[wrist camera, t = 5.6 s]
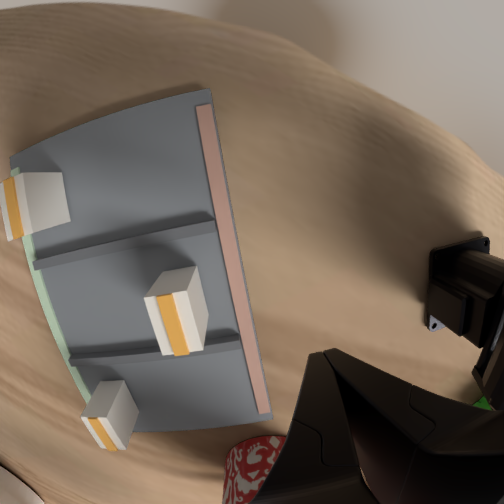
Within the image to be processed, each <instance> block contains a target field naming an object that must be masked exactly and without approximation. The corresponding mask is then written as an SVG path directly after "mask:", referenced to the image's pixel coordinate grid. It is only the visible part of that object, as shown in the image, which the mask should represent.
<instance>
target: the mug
mask: <svg viewBox="0 0 504 504" xmlns="http://www.w3.org/2000/svg"><path fill="white" fill-rule="evenodd" d="M285 439H286V437H282V436H261V437H256V438H252V439H249V440H246V441H243V442H241V443H239V444H238V445H236V446H235V447H233V448H232V449H231V450H230V451H229V453H228V455H227V457H226V461H225V474H224V488H223V500H222V504H248V503H249V502H250V501H251V500H252V499H253V498H254V496H255V495H256V493H257V492H258V490H259V489H260V487H261V485H262V484H263V482H264V480H265V479H266V477H267V475H268V473H269V471H270V470H271V468H272V466H273V464H274V462H275V461H276V459H277V457H278V455H279V453H280V451H281V449H282V446H283V444H284V442H285Z"/></svg>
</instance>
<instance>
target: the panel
mask: <svg viewBox="0 0 504 504" xmlns="http://www.w3.org/2000/svg"><path fill="white" fill-rule="evenodd" d="M10 166H11V171H10V172H11V177H14V176H16V175H18V174H21V173H26V172H62V176H63V183H64V189H65V194H66V200H67V205H68V210H69V215H70V220H71V221H70V222H67V223H64V224H60V225H57V226H54V227H51V228H47V229H44V230H41V231H38V232H35V233H32V234H29V235H26V236H23V237H22V240H23V244H24V249H25V252H26V256H27V260H28V264H29V267H30V271H31V274H32V277H33V281H34V284H35V287H36V290H37V293H38V296H39V299H40V302H41V305H42V307H43V310H44V313H45V316H46V318H47V321H48V323H49V326H50V328H51V331H52V333H53V336H54V338H55V341H56V343H57V345H58V348H59V350H60V352H61V354H62V356H63V359H64V361H65V363H66V365H67V367H68V369H69V371H70V373H71V375H72V377H73V379H74V381H75V383H76V385H77V387H78V389H79V391H80V393H81V394H82V396H83V398H84V400H85V402H86V403H87V404H88V402H89V400H90V398H91V396H92V395H93V393H94V391H95V389H96V388H97V386H98V384H99V383H100V381H117V380H124V381H125V383H126V385H127V388H128V390H129V392H130V394H131V396H132V398H133V400H134V402H135V404H136V406H137V408H138V410H139V414H138V417H137V420H136V423H135V425H134V428H133V431H132V432H165V431H184V430H197V429H208V428H218V427H226V426H234V425H241V424H248V423H254V422H260V421H266V420H272V419H273V414H272V409H271V404H270V399H269V395H268V390H267V385H266V380H265V375H264V370H263V365H262V360H261V355H260V350H259V345H258V340H257V335H256V330H255V325H254V320H253V315H252V310H251V305H250V300H249V295H248V290H247V284H246V279H245V274H244V269H243V264H242V259H241V253H240V248H239V243H238V238H237V232H236V227H235V222H234V216H233V211H232V206H231V200H230V195H229V190H228V184H227V179H226V173H225V168H224V162H223V157H222V151H221V146H220V140H219V135H218V129H217V123H216V118H215V112H214V106H213V101H212V95H211V90H210V88H208V89H203V90H198V91H193V92H188V93H184V94H180V95H175V96H171V97H167V98H163V99H159V100H156V101H152V102H148V103H145V104H141V105H138V106H134V107H131V108H128V109H125V110H121V111H118V112H115V113H112V114H109V115H106V116H103V117H101V118H98V119H95V120H92V121H89V122H87V123H84V124H82V125H79V126H76V127H74V128H71V129H69V130H66V131H64V132H62V133H59V134H57V135H55V136H52V137H50V138H48V139H46V140H43V141H41V142H39V143H37V144H35V145H33V146H31V147H29V148H27V149H24V150H22V151H20V152H19V153H17V154H15V155H13V156H11V157H10ZM196 265H197V268H198V272H199V277H200V281H201V285H202V289H203V293H204V297H205V302H206V306H207V310H208V314H209V316H208V322H207V329H206V335H205V342H204V348H203V350H201V351H194V352H190V353H189V354H188V355H181V356H175V355H174V354H171V355H162V352H161V349H160V347H159V344H158V341H157V338H156V335H155V332H154V329H153V326H152V323H151V320H150V317H149V314H148V310H147V307H146V304H145V301H144V297H145V295H146V294H147V292H148V291H149V290H150V288H151V287H152V286H153V284H154V283H155V281H156V280H157V279H158V277H159V276H160V275H161V273H162V272H164V271H169V270H175V269H180V268H185V267H191V266H196Z"/></svg>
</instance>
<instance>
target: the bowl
mask: <svg viewBox="0 0 504 504" xmlns="http://www.w3.org/2000/svg"><path fill="white" fill-rule="evenodd" d="M0 504H45V503H44V502H43V501H42V500H41V499H40V497H39V496H38V495H37V494H36V493H35V492H33V491H32V490H31V489H30V488H29V487H28V486H27V485H25V484H24V483H23V482H22V481H20V480H19V479H18V478H16V477H15V476H14V475H12V474H11V473H10V472H8V471H7V470H6V469H4V468H3V467H1V466H0Z"/></svg>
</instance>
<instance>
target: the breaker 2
mask: <svg viewBox="0 0 504 504" xmlns="http://www.w3.org/2000/svg"><path fill="white" fill-rule="evenodd" d="M138 414H139V410H138V408H137V406H136V404H135V402H134V400H133V398H132V396H131V394H130V392H129V390H128V388H127V385H126V383H125V381H124V380H117V381H100V383H99V384H98V386H97V388H96V389H95V391H94V393H93V395H92V396H91V398H90V400H89V402H88V404H87V405H86V407H85V409H84V411H83V413H82V414H81V416H80V417H81V419H82V420H83V422H84V423H85V425H86V427H87V428H88V430H89V431H90V433H91V434H92V436H93V437H94V439H95V440H96V442H97V443H98V444H99V446H100V447H101V448H106V449H107V450H108V451H117V450H118V449H123V450H127V446H128V443H129V440H130V437H131V434H132V431H133V428H134V425H135V423H136V420H137V417H138Z"/></svg>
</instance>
